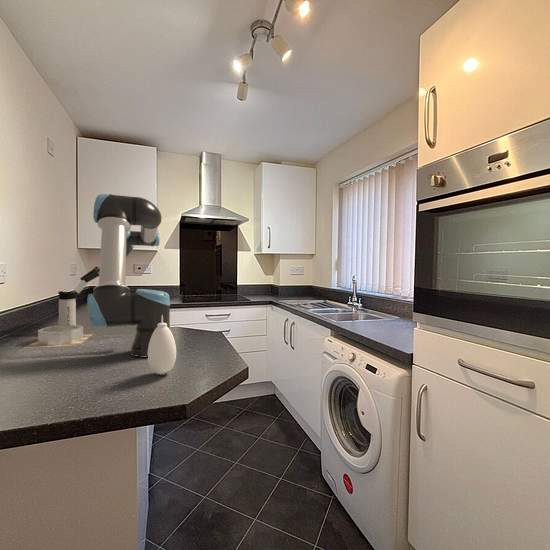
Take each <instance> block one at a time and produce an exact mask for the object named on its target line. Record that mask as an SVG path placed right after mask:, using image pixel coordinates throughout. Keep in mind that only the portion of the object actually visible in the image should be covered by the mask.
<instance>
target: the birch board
mask: <svg viewBox="0 0 550 550" xmlns="http://www.w3.org/2000/svg"><path fill="white" fill-rule="evenodd" d="M93 335H94V333H93V334H83V339H82V340H80V341H77V342H74V343H69V344H62V345H49V346H47V345H40V344H39V343H38V340H37V341H35V342H32V343H30V344H28V345H26V346H24V347H23V349H32V348H51V347H66V346H68V347H69V346H70V347H71V346H80V345H81V344H83V343H84V342H85V341H87V340H88V339H89V338H90V337H92V336H93Z"/></svg>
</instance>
